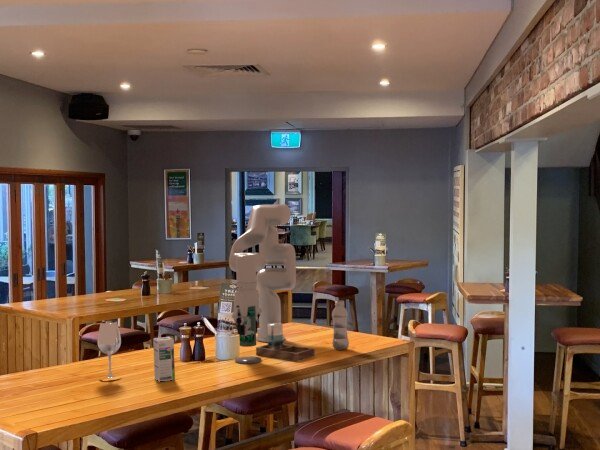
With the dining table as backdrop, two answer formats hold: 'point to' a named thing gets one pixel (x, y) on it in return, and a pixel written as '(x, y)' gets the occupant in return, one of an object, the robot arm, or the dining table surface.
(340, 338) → the plastic bottle
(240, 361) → the slate coaster
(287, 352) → the brown wooden tray
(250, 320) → the can
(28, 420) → the dining table surface
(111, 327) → the wineglass
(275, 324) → the can
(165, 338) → the syrup box
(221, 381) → the dining table surface
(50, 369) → the dining table surface
